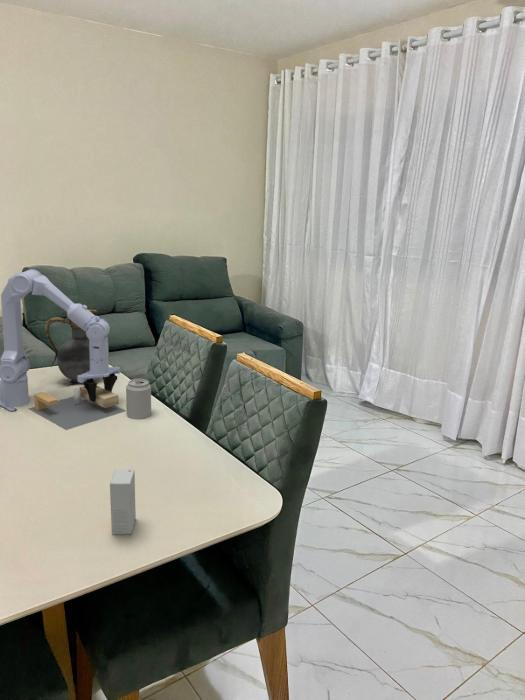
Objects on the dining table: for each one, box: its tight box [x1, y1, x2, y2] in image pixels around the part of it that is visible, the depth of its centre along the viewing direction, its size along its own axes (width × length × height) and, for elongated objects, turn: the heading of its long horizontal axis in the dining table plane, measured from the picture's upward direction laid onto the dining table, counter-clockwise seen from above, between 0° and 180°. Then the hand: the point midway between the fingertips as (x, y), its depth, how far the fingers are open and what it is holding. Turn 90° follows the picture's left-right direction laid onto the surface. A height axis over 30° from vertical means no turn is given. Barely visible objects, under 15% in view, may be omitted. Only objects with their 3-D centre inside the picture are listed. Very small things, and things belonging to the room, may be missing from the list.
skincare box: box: [109, 468, 137, 536], centre depth 113 cm, size 6×4×12 cm
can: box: [125, 378, 152, 420], centre depth 168 cm, size 8×8×12 cm
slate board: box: [28, 388, 127, 431], centre depth 170 cm, size 22×21×6 cm
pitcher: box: [44, 302, 98, 386], centre depth 192 cm, size 11×19×30 cm, turn 107°
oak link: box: [78, 385, 119, 408], centre depth 174 cm, size 14×5×3 cm, turn 50°
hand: (100, 398), depth 173 cm, fingers closed on oak link, 5 cm apart
